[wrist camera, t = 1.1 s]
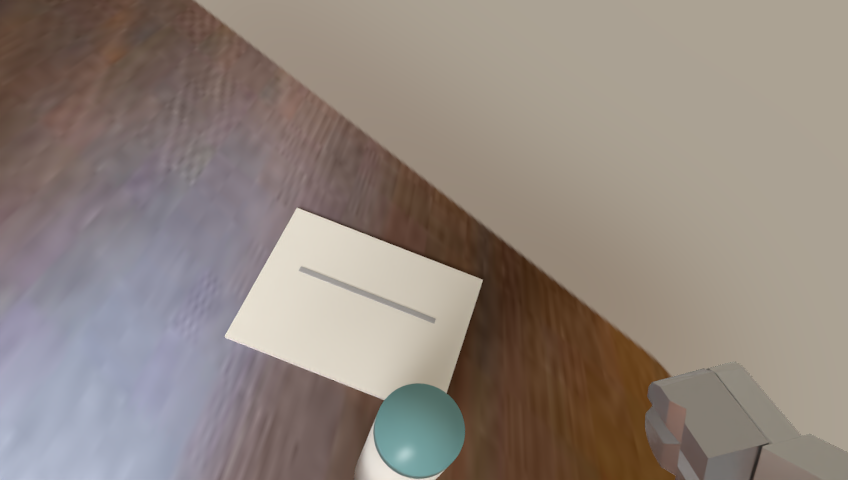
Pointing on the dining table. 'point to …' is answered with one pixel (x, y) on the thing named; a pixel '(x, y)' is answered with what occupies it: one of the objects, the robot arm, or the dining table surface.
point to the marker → (412, 436)
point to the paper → (357, 309)
